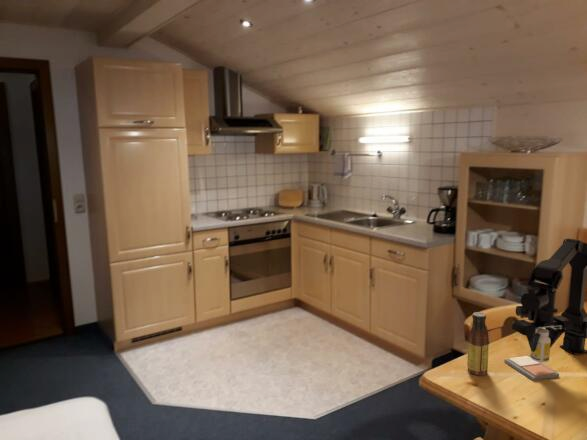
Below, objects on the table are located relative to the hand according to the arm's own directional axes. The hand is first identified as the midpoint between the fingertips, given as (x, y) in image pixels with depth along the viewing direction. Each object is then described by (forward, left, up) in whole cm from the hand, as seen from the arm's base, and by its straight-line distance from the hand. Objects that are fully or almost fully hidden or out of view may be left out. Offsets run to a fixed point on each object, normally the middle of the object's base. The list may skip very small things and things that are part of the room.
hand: (540, 350), depth 150 cm
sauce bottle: (+19, -6, -8) cm, 21 cm away
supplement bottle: (0, 0, -3) cm, 3 cm away
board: (0, -3, -8) cm, 9 cm away
